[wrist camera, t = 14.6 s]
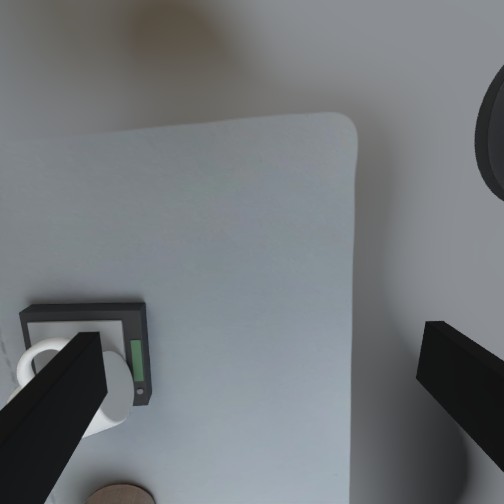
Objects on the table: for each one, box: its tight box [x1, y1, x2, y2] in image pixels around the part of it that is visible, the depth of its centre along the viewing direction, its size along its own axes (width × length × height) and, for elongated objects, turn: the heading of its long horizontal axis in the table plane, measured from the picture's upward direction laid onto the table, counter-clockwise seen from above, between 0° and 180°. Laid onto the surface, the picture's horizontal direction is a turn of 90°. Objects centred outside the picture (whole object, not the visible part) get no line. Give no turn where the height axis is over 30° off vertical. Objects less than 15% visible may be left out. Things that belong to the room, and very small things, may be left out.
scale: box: [19, 303, 152, 406], centre depth 37 cm, size 14×14×3 cm
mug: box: [6, 337, 134, 439], centre depth 32 cm, size 12×10×8 cm
